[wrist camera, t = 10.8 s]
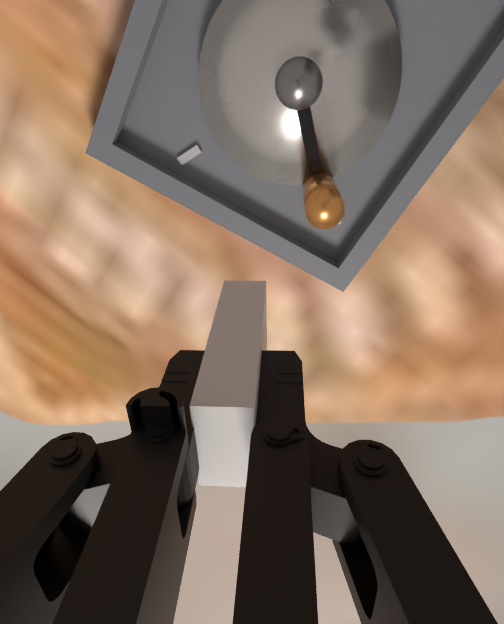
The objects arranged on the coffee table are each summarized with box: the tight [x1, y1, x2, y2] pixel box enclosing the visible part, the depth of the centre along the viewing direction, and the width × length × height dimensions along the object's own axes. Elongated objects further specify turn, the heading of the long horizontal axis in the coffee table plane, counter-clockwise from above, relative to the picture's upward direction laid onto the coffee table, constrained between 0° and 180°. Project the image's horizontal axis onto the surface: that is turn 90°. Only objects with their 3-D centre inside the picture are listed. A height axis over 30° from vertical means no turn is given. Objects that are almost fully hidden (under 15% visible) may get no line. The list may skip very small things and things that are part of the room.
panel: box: [86, 0, 504, 292], centre depth 29 cm, size 22×22×3 cm
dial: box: [199, 0, 402, 229], centre depth 26 cm, size 14×13×6 cm
